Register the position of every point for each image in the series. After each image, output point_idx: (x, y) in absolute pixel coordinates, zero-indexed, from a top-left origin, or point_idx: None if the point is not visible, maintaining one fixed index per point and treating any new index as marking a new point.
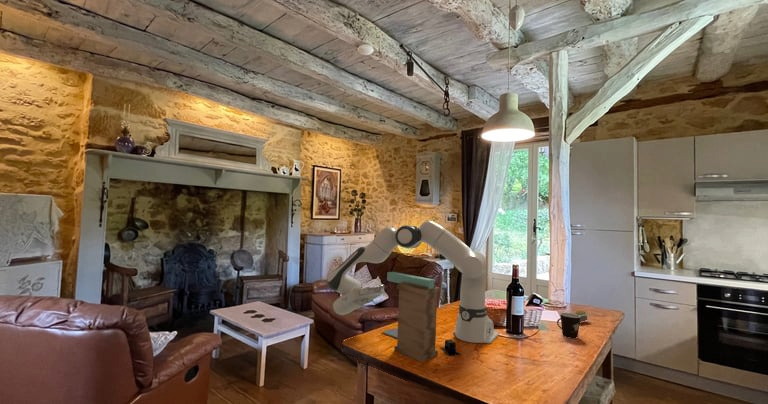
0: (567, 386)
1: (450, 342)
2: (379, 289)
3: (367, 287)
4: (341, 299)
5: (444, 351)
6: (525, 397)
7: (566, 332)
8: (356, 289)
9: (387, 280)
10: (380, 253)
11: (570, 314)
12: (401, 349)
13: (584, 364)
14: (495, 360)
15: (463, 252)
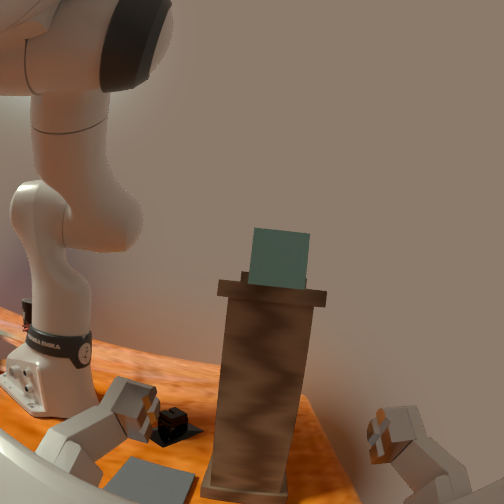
0: (202, 363)
1: (182, 412)
2: (93, 463)
3: (400, 407)
4: None
5: (184, 438)
6: None
7: None
8: (497, 485)
9: (304, 288)
10: None
11: (24, 300)
12: (285, 480)
13: (128, 348)
14: (171, 392)
15: (118, 182)
